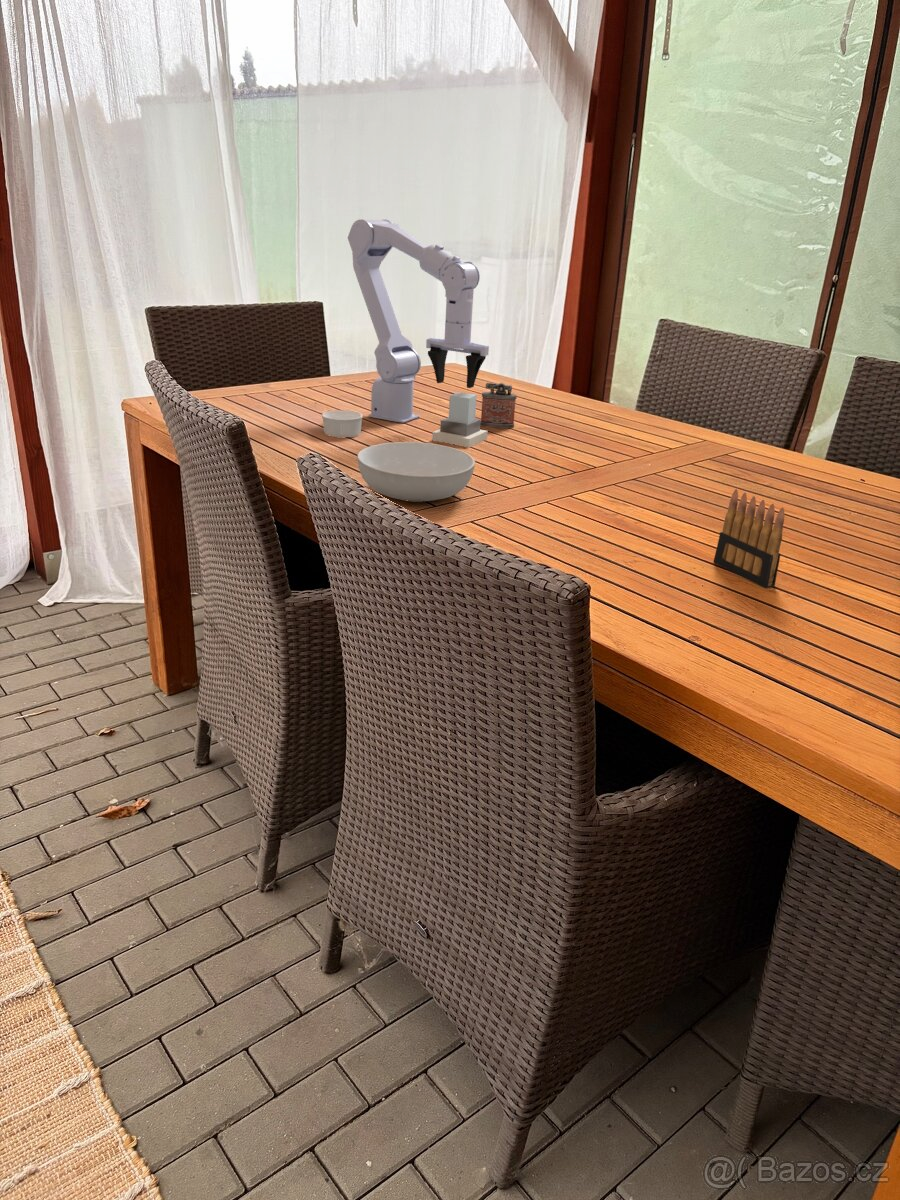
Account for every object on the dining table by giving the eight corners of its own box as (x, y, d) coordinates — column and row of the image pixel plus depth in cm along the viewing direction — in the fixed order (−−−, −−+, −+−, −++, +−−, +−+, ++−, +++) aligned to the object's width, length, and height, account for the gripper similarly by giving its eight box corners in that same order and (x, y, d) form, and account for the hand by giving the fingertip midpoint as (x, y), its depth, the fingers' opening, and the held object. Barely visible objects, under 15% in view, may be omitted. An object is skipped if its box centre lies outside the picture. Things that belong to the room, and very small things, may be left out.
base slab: (432, 443, 195) (432, 432, 193) (451, 435, 202) (451, 424, 201) (468, 450, 191) (469, 439, 190) (486, 441, 198) (487, 430, 197)
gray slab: (440, 431, 194) (440, 420, 193) (454, 425, 200) (454, 414, 199) (466, 436, 192) (467, 425, 191) (479, 430, 197) (480, 419, 196)
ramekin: (314, 435, 193) (314, 415, 192) (334, 427, 201) (334, 407, 199) (350, 441, 191) (350, 421, 189) (369, 432, 198) (369, 413, 196)
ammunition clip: (712, 562, 137) (727, 487, 132) (721, 560, 138) (736, 486, 133) (766, 588, 129) (783, 510, 124) (774, 586, 130) (792, 508, 125)
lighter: (514, 425, 211) (517, 382, 206) (513, 428, 208) (517, 385, 203) (480, 422, 211) (483, 380, 207) (479, 426, 208) (482, 383, 204)
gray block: (448, 421, 193) (449, 395, 191) (456, 416, 197) (457, 392, 194) (467, 424, 191) (469, 398, 189) (475, 419, 195) (476, 394, 193)
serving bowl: (385, 519, 147) (386, 479, 144) (339, 483, 164) (339, 446, 161) (494, 506, 156) (496, 468, 154) (440, 472, 173) (441, 437, 170)
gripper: (420, 319, 193) (418, 382, 198) (480, 327, 187) (475, 392, 192) (436, 316, 198) (433, 378, 204) (494, 324, 192) (490, 387, 198)
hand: (455, 384), depth 199 cm, fingers open, 7 cm apart
